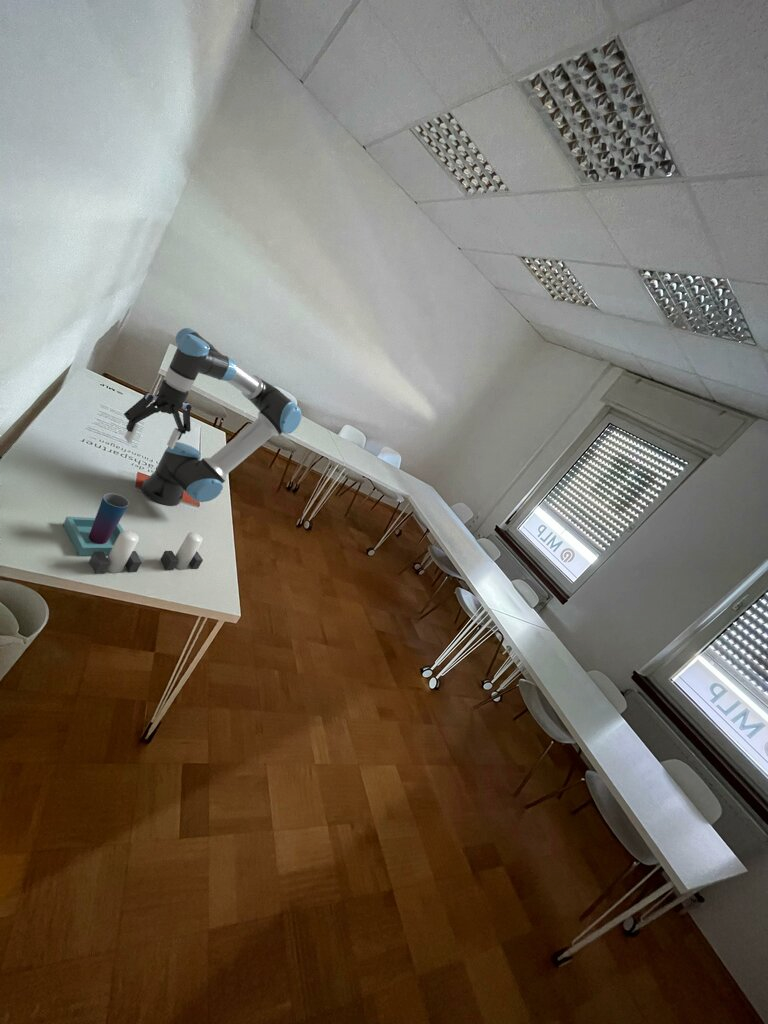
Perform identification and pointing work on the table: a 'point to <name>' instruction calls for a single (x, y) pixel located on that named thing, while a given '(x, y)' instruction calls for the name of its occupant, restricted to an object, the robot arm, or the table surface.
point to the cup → (108, 517)
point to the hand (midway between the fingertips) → (149, 443)
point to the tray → (80, 532)
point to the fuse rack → (130, 559)
